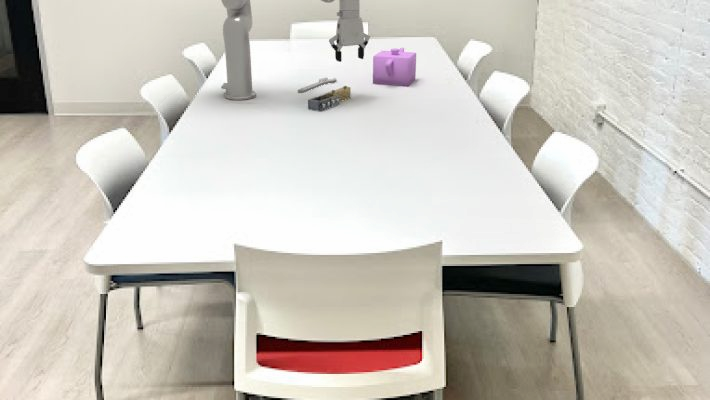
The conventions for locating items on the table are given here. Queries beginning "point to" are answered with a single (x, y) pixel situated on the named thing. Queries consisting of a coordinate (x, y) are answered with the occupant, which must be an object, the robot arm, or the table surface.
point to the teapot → (394, 68)
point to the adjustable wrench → (317, 84)
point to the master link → (341, 93)
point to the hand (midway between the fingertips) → (349, 59)
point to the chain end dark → (318, 103)
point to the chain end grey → (331, 99)
